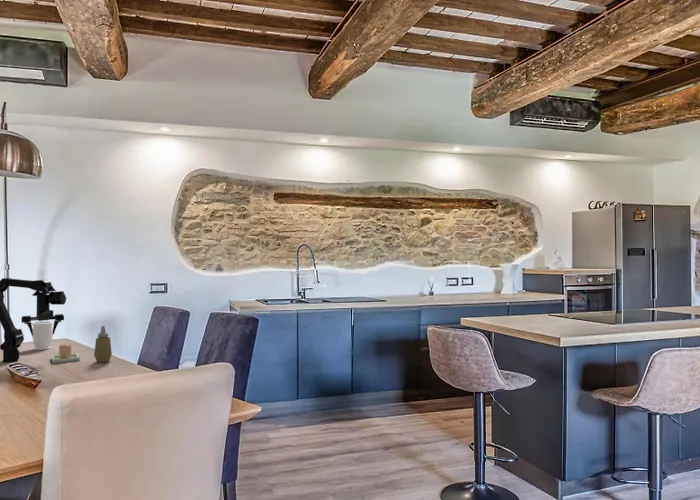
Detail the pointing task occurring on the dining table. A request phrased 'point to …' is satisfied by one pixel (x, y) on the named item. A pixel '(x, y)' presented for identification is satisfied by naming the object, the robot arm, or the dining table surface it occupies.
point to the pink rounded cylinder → (65, 351)
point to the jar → (42, 335)
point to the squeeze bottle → (103, 347)
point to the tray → (73, 358)
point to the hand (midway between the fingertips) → (42, 335)
